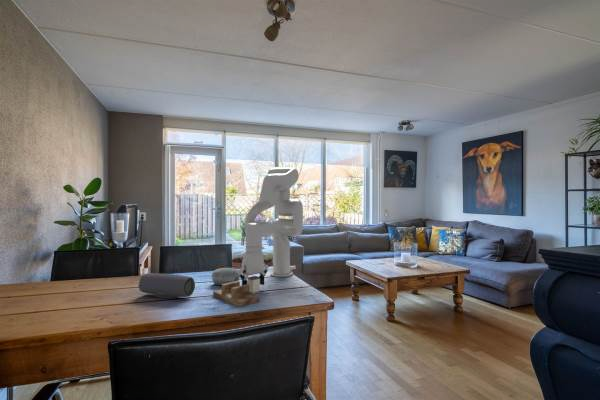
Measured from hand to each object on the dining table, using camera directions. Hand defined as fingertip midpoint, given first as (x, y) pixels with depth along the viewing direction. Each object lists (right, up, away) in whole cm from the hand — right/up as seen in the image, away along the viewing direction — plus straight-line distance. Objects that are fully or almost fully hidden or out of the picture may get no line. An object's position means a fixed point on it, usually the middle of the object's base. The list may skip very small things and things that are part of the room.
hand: (253, 286), depth 147 cm
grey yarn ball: (-15, -2, +12) cm, 20 cm away
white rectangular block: (0, -2, 0) cm, 2 cm away
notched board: (-6, -3, -10) cm, 12 cm away
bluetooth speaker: (-37, -3, -8) cm, 38 cm away
